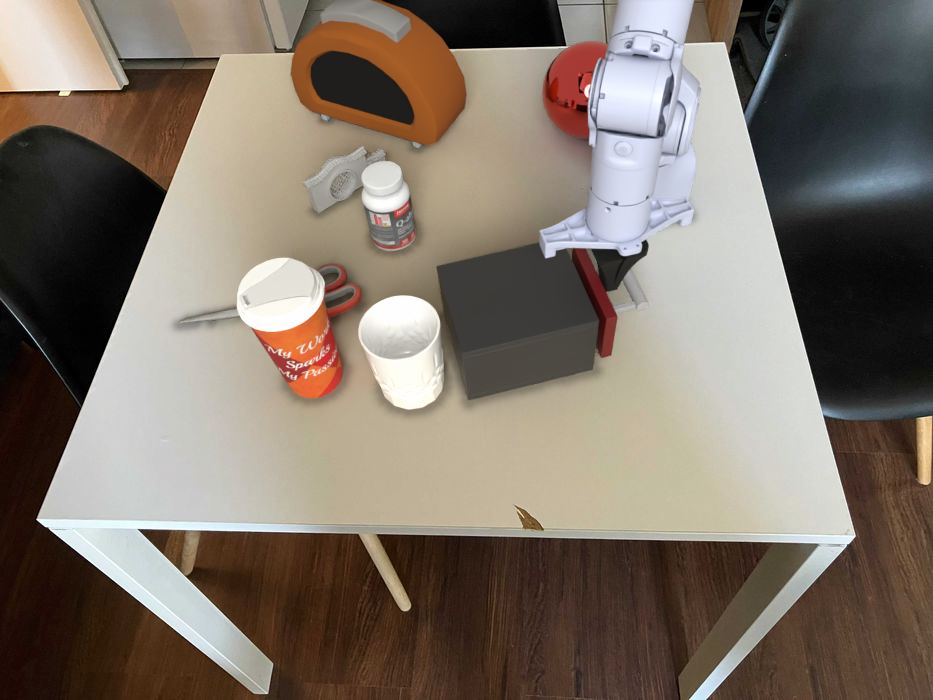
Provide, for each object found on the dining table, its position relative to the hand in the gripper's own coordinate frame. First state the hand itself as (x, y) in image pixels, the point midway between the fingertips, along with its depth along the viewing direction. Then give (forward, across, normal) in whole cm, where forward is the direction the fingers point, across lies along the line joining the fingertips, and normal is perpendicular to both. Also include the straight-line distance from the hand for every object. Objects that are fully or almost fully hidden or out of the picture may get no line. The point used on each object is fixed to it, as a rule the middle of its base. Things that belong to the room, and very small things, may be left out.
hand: (608, 283), depth 74 cm
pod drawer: (+5, -5, 0) cm, 7 cm away
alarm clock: (+7, -17, +44) cm, 47 cm away
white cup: (+7, -22, -2) cm, 23 cm away
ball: (+7, +9, +32) cm, 34 cm away
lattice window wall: (+7, -24, +30) cm, 39 cm away
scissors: (+7, -36, +12) cm, 39 cm away
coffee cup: (+7, -32, +2) cm, 33 cm away
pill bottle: (+7, -20, +20) cm, 29 cm away
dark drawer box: (+6, -10, 0) cm, 12 cm away
